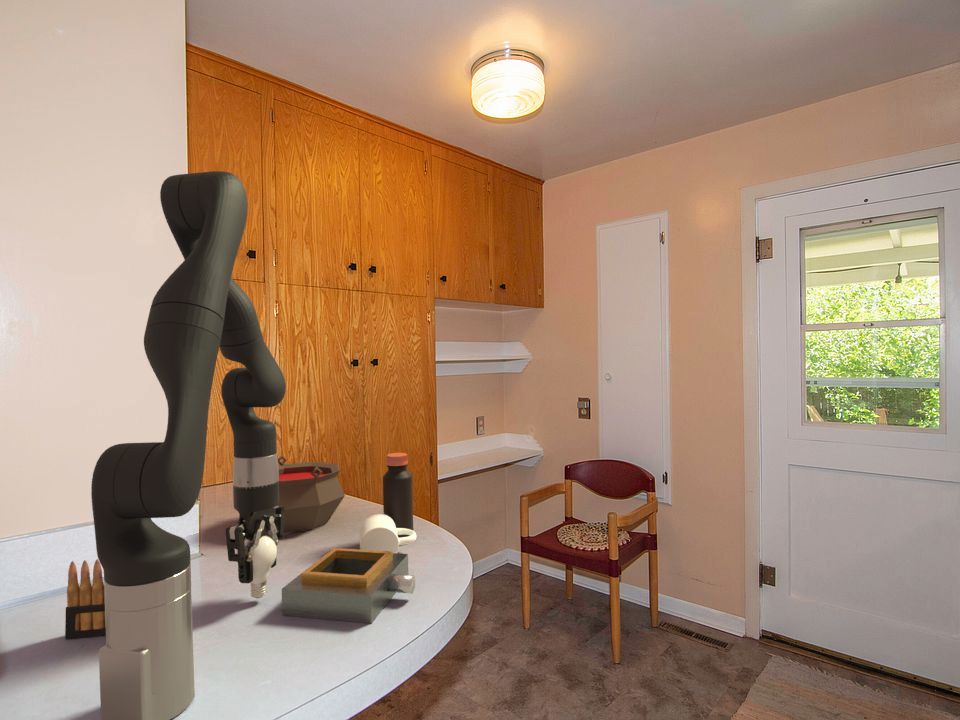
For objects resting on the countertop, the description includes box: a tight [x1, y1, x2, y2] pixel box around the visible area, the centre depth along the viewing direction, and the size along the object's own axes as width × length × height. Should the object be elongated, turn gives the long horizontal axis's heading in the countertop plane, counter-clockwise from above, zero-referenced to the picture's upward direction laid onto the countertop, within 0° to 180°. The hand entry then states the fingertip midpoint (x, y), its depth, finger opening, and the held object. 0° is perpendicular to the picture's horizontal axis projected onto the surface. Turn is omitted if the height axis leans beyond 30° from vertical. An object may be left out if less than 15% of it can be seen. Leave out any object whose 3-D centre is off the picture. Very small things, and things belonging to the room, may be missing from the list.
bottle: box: [382, 452, 414, 538], centre depth 125 cm, size 7×7×20 cm
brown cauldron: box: [276, 454, 346, 533], centre depth 139 cm, size 24×24×16 cm
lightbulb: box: [244, 536, 278, 599], centre depth 96 cm, size 6×6×11 cm
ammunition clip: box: [64, 558, 106, 641], centre depth 86 cm, size 11×2×12 cm, turn 99°
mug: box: [359, 512, 417, 553], centre depth 116 cm, size 12×10×8 cm
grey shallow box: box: [281, 547, 416, 625], centre depth 97 cm, size 18×20×6 cm
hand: (258, 573), depth 96 cm, fingers closed on lightbulb, 6 cm apart
